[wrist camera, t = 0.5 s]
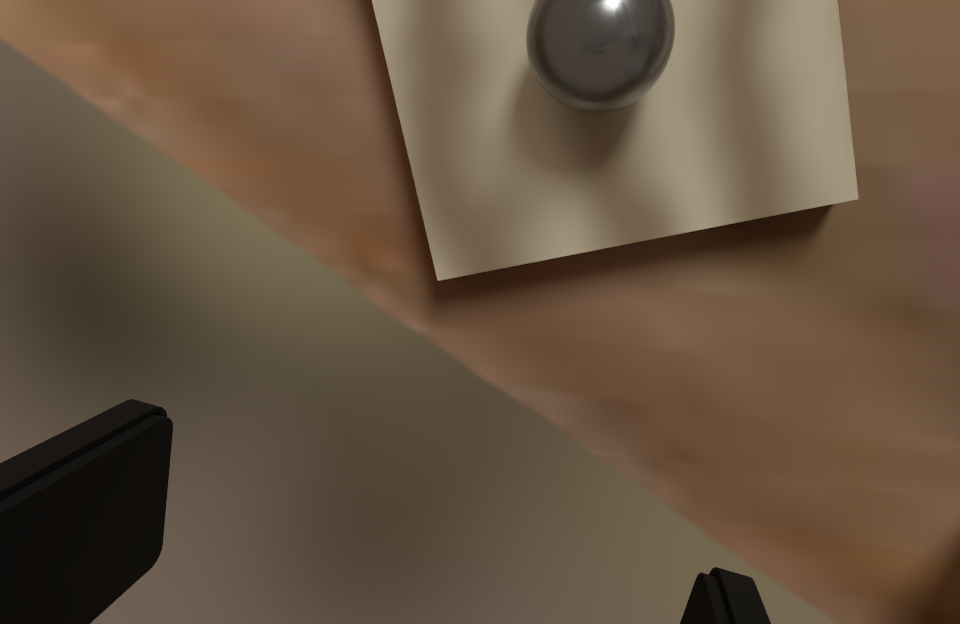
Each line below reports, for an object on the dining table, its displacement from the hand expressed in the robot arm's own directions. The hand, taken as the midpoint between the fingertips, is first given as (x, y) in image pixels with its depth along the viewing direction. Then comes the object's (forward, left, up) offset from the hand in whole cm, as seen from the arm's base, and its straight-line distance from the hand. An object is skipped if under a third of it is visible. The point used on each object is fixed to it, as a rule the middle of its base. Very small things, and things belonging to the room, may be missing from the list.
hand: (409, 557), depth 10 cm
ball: (-5, -11, -19) cm, 22 cm away
